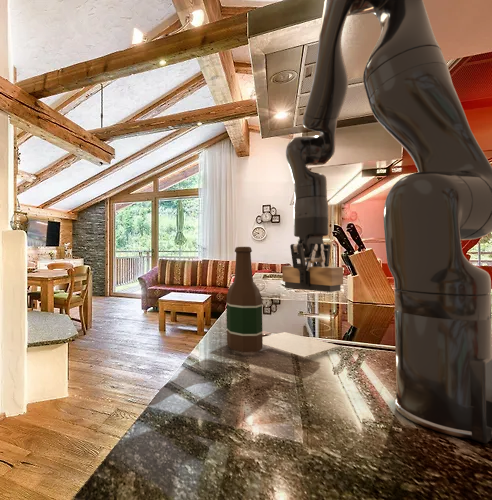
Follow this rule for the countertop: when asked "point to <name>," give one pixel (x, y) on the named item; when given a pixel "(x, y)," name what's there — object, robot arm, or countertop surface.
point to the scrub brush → (315, 278)
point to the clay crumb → (265, 333)
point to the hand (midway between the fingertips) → (311, 285)
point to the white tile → (296, 344)
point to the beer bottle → (244, 307)
